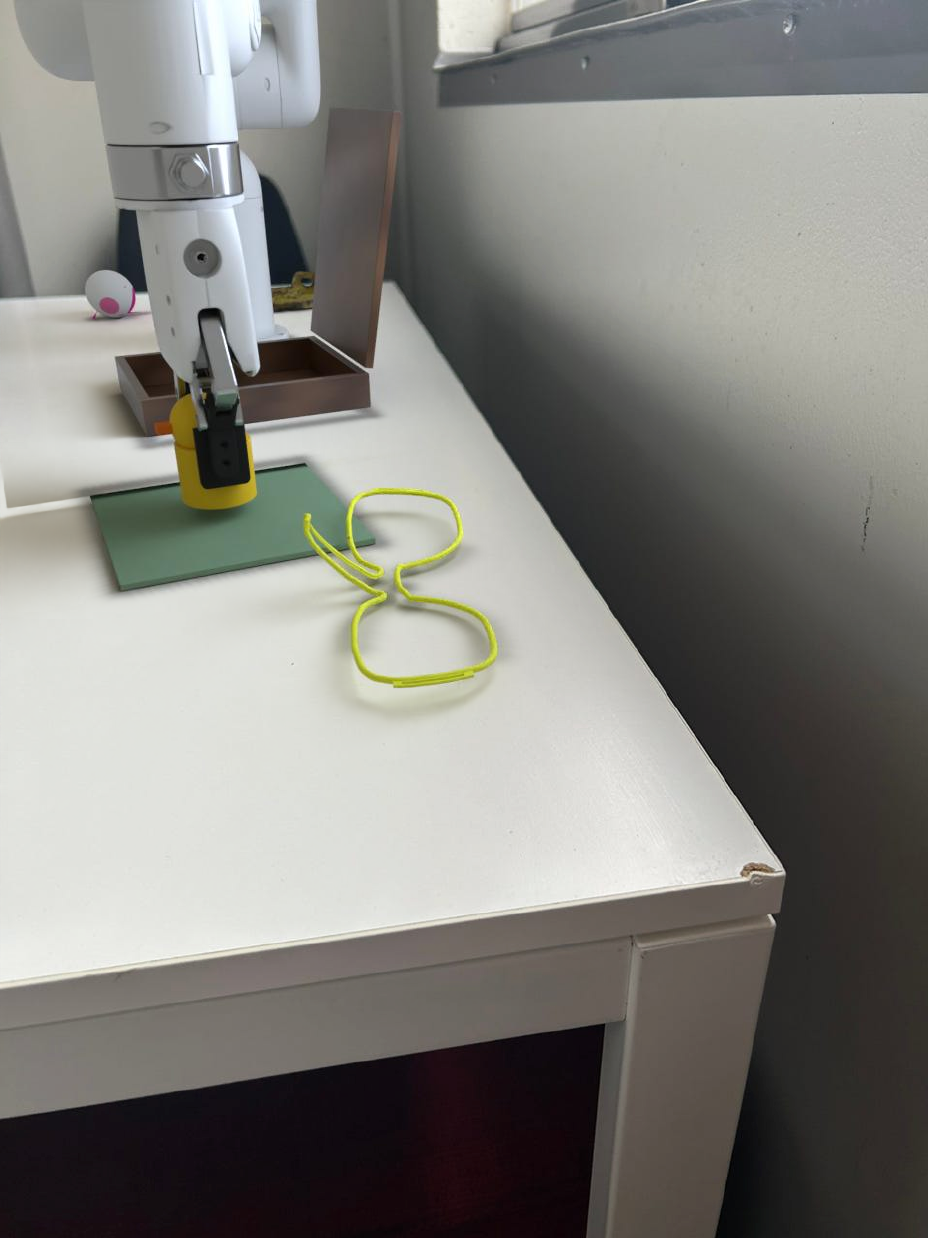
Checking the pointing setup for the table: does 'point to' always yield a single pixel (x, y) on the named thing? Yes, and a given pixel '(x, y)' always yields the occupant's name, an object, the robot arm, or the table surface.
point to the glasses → (399, 681)
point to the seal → (294, 294)
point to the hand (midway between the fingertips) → (216, 468)
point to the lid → (354, 228)
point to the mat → (220, 528)
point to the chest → (256, 383)
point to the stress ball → (110, 294)
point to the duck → (188, 467)
